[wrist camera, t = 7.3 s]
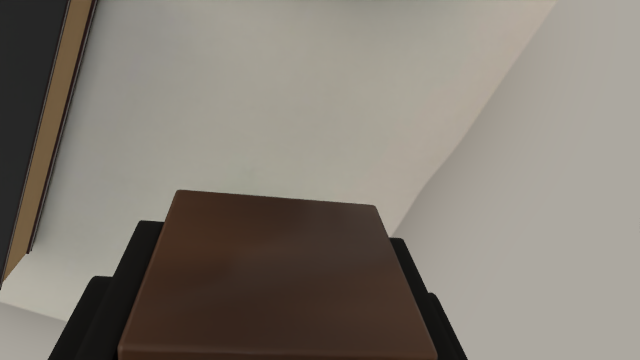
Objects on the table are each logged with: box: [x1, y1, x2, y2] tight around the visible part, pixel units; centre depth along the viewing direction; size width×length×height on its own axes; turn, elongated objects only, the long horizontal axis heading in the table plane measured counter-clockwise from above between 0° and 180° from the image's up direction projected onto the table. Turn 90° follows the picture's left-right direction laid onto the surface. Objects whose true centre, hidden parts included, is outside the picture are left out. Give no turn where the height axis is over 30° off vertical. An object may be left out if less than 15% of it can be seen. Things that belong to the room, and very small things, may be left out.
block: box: [117, 190, 438, 360], centre depth 9 cm, size 4×4×4 cm
